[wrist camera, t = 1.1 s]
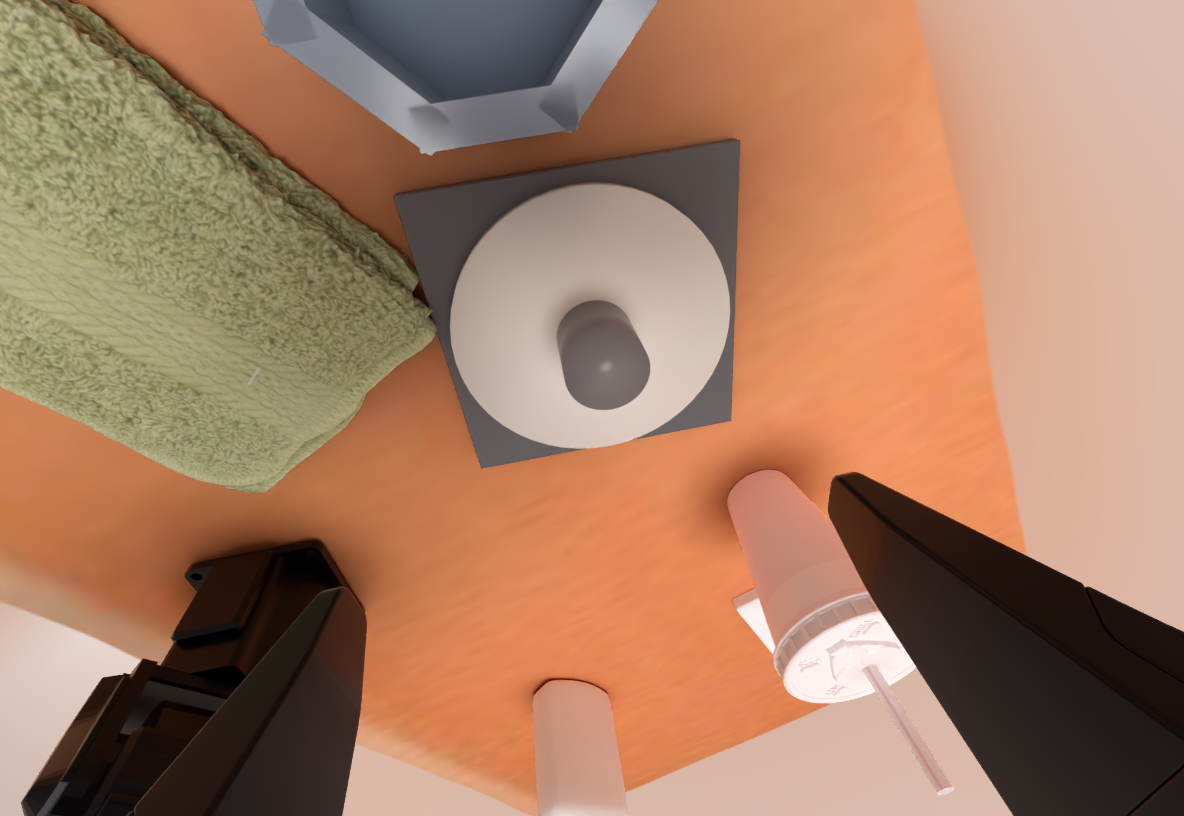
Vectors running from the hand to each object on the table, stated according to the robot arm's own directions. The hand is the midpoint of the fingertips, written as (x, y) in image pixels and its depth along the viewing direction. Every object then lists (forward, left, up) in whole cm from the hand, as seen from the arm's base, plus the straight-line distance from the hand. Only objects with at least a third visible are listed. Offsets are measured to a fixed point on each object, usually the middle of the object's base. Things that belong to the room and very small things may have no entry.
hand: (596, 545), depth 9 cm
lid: (-2, -1, -12) cm, 13 cm away
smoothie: (-14, -9, -13) cm, 21 cm away
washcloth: (+4, +14, -14) cm, 20 cm away
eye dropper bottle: (-30, +4, -13) cm, 33 cm away
